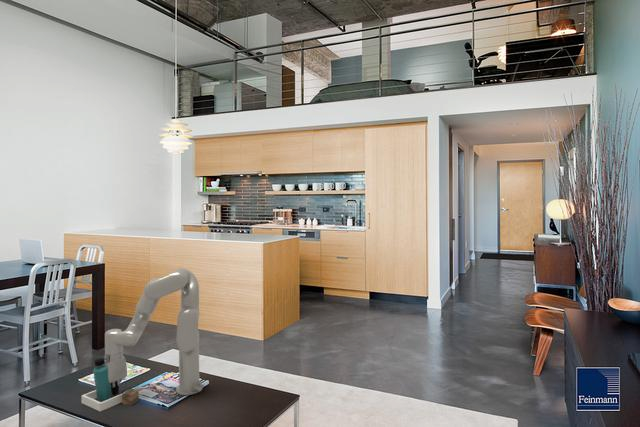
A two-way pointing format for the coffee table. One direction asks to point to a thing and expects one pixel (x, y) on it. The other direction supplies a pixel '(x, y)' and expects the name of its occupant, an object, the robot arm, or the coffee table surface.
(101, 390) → the beverage bottle
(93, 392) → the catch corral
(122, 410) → the coffee table surface
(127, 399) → the walnut block
